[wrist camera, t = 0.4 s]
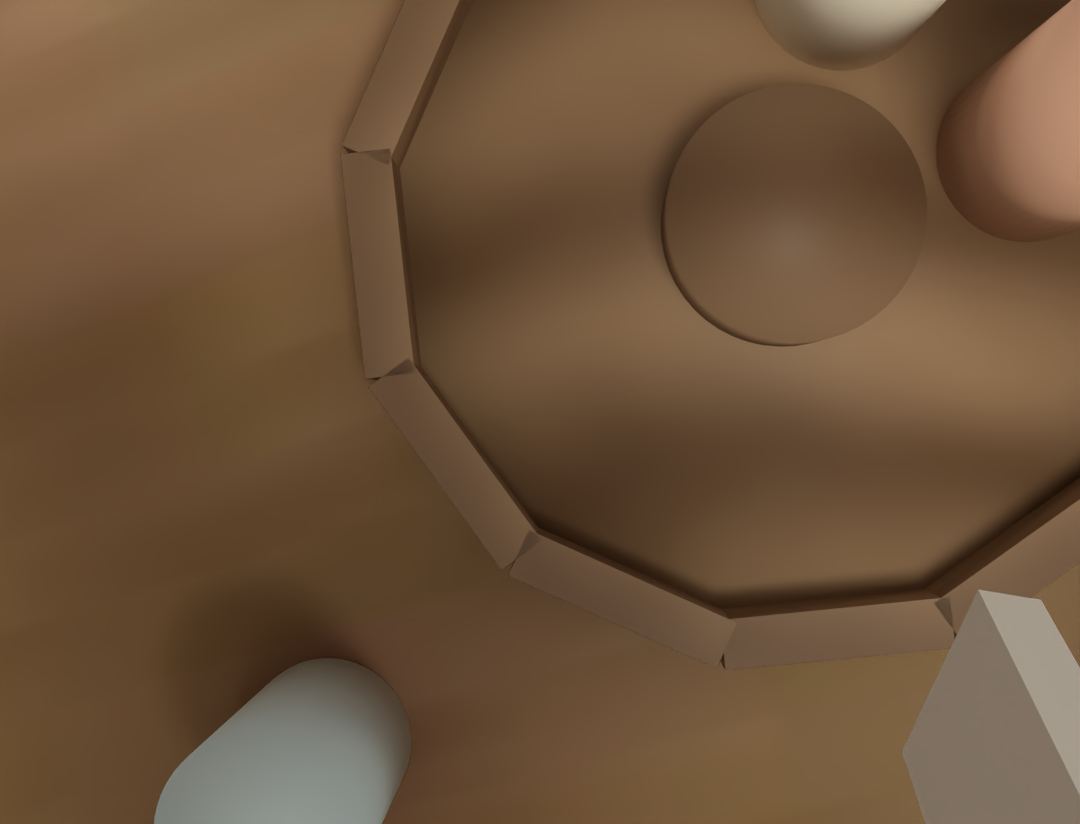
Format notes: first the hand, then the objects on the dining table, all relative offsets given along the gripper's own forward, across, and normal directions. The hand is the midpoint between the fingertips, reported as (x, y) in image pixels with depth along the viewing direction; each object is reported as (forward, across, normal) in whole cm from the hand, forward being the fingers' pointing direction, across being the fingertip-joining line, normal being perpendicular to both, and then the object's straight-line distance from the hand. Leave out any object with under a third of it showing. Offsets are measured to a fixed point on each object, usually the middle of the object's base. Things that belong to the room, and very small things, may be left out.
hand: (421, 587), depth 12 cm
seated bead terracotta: (+16, -12, -3) cm, 20 cm away
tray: (+16, -7, 0) cm, 17 cm away
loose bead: (+9, +3, +13) cm, 17 cm away
